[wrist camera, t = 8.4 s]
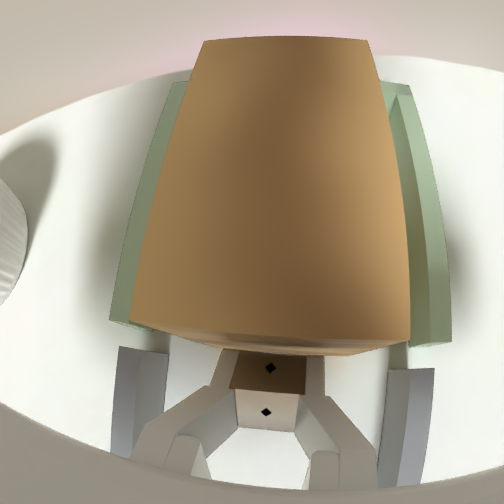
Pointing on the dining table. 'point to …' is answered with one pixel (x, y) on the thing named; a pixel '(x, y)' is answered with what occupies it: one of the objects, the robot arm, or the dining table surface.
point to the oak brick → (279, 205)
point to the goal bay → (415, 210)
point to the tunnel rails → (394, 426)
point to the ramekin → (11, 239)
